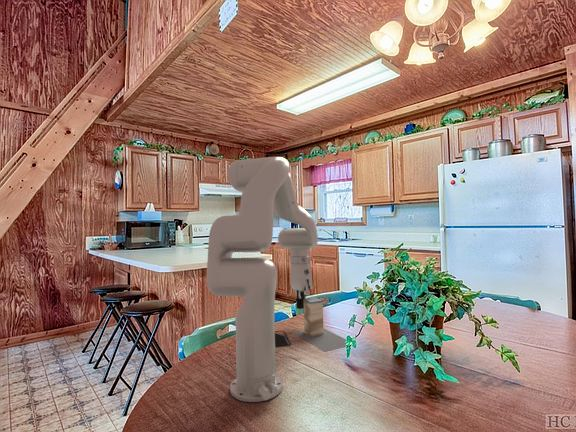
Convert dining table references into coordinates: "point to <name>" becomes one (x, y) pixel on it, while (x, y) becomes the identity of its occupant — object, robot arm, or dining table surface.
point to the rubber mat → (324, 340)
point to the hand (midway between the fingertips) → (301, 307)
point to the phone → (281, 340)
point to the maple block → (313, 316)
